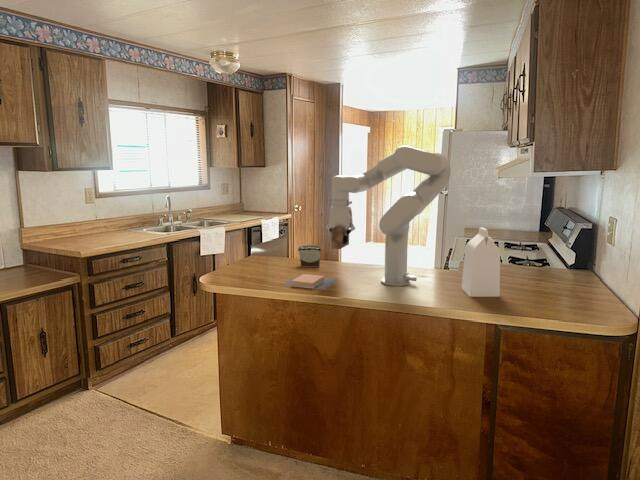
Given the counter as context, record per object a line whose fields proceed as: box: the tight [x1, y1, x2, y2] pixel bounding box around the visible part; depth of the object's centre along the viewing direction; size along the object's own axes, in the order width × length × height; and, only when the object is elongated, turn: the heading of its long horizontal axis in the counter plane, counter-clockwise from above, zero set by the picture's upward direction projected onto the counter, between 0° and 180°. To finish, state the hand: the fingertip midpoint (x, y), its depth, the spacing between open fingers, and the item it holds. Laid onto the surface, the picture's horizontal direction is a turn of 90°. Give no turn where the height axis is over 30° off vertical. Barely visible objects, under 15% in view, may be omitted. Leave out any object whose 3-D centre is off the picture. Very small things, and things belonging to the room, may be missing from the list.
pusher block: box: [330, 227, 350, 250], centre depth 205 cm, size 4×12×9 cm, turn 157°
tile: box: [291, 273, 325, 289], centre depth 195 cm, size 10×2×12 cm
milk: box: [461, 227, 501, 298], centre depth 180 cm, size 12×12×26 cm
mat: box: [282, 274, 340, 291], centre depth 198 cm, size 20×17×1 cm
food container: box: [297, 244, 323, 268], centre depth 230 cm, size 12×6×10 cm, turn 84°
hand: (340, 243), depth 206 cm, fingers closed on pusher block, 4 cm apart
